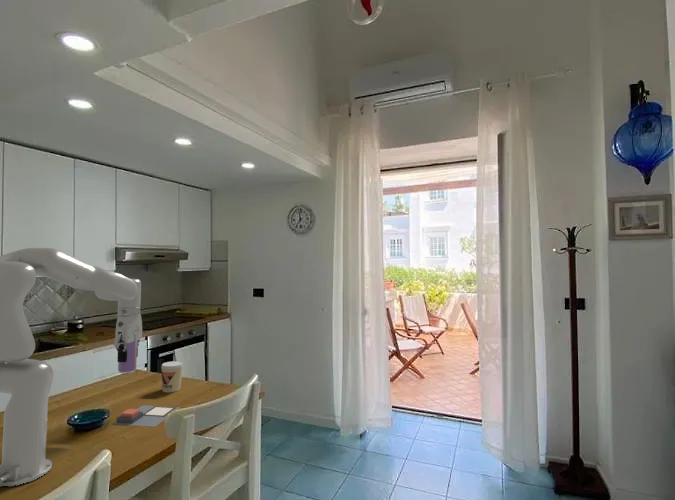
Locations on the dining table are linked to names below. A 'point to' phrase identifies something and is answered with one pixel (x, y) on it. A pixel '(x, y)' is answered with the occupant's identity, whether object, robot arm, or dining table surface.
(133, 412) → the button
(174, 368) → the coffee cup
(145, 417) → the picture board
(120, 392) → the dining table surface
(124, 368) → the beverage can
